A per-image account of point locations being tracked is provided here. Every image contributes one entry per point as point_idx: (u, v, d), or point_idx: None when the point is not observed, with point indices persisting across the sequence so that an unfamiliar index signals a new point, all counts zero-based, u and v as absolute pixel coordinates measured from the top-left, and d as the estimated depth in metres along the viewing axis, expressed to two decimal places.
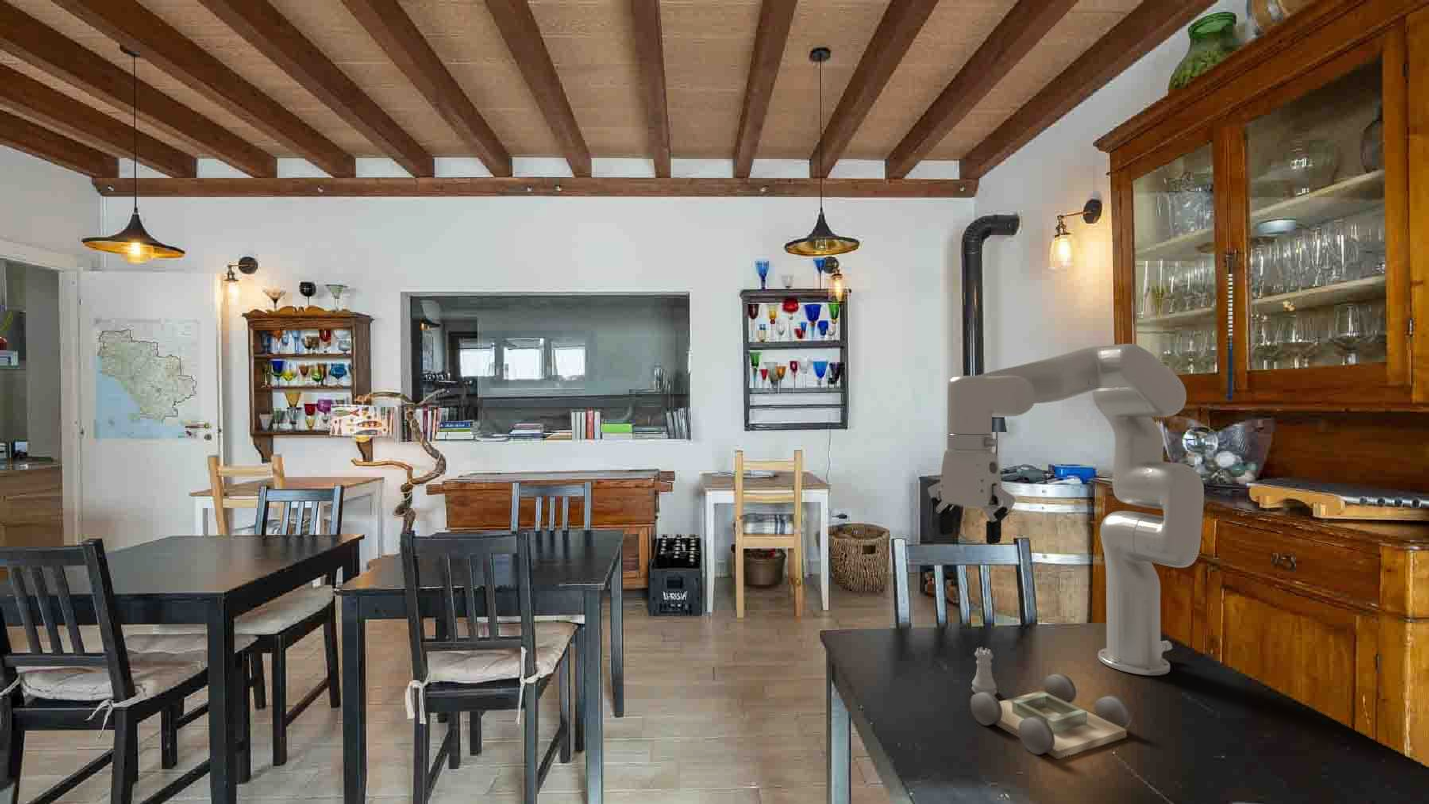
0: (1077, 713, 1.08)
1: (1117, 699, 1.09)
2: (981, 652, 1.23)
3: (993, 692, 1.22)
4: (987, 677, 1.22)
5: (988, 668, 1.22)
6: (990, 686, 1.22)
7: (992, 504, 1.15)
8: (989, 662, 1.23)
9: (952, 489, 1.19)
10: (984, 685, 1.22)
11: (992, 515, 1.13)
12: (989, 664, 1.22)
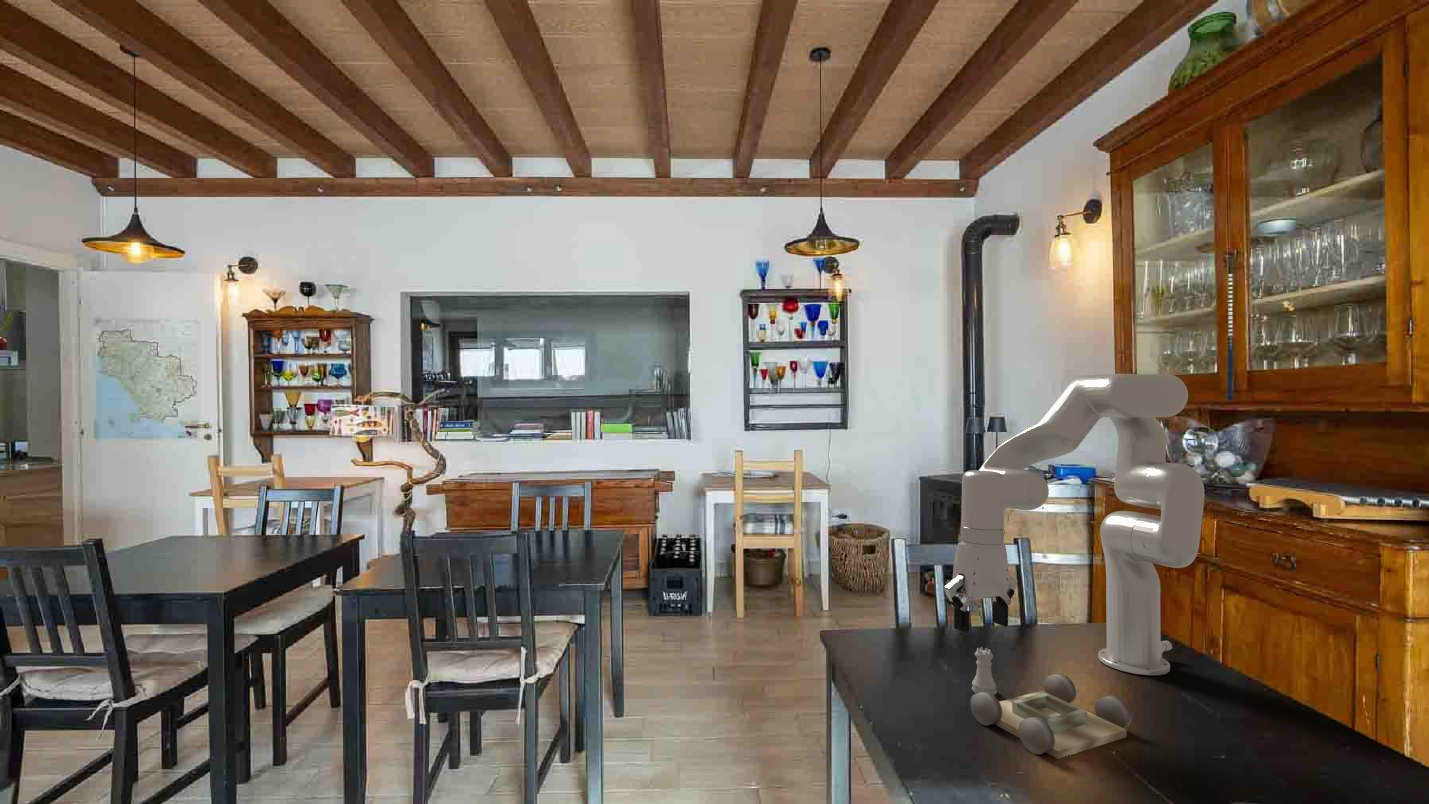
0: (1077, 713, 1.08)
1: (1117, 699, 1.09)
2: (981, 652, 1.23)
3: (993, 692, 1.22)
4: (987, 677, 1.22)
5: (988, 668, 1.22)
6: (990, 686, 1.22)
7: None
8: (989, 662, 1.23)
9: (984, 584, 1.21)
10: (984, 685, 1.22)
11: (1008, 599, 1.25)
12: (989, 664, 1.22)
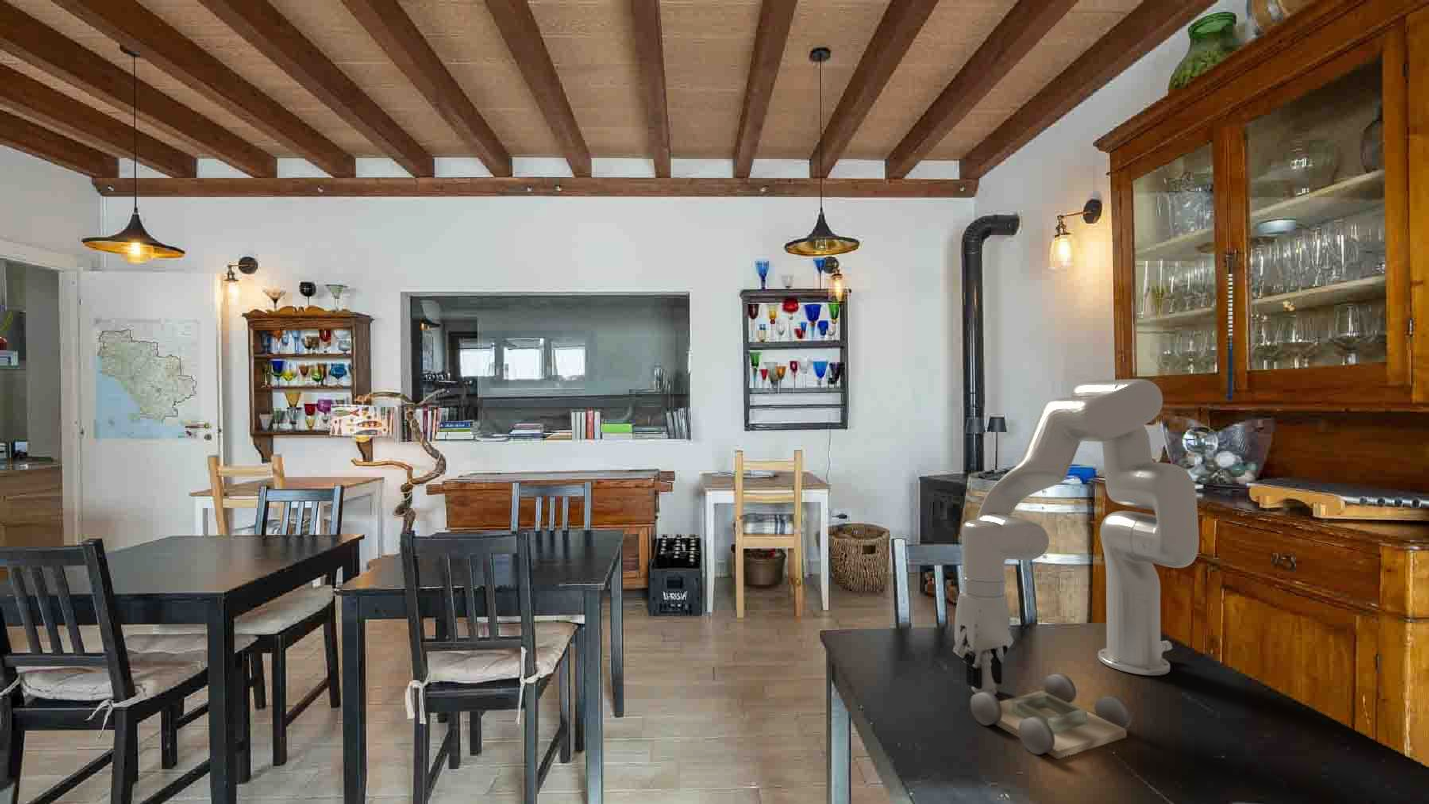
0: (1077, 713, 1.08)
1: (1117, 699, 1.09)
2: (981, 652, 1.23)
3: (993, 692, 1.22)
4: (987, 677, 1.22)
5: (988, 668, 1.22)
6: (990, 686, 1.22)
7: None
8: (989, 662, 1.23)
9: (986, 636, 1.21)
10: (984, 685, 1.22)
11: (1002, 656, 1.24)
12: (989, 664, 1.22)
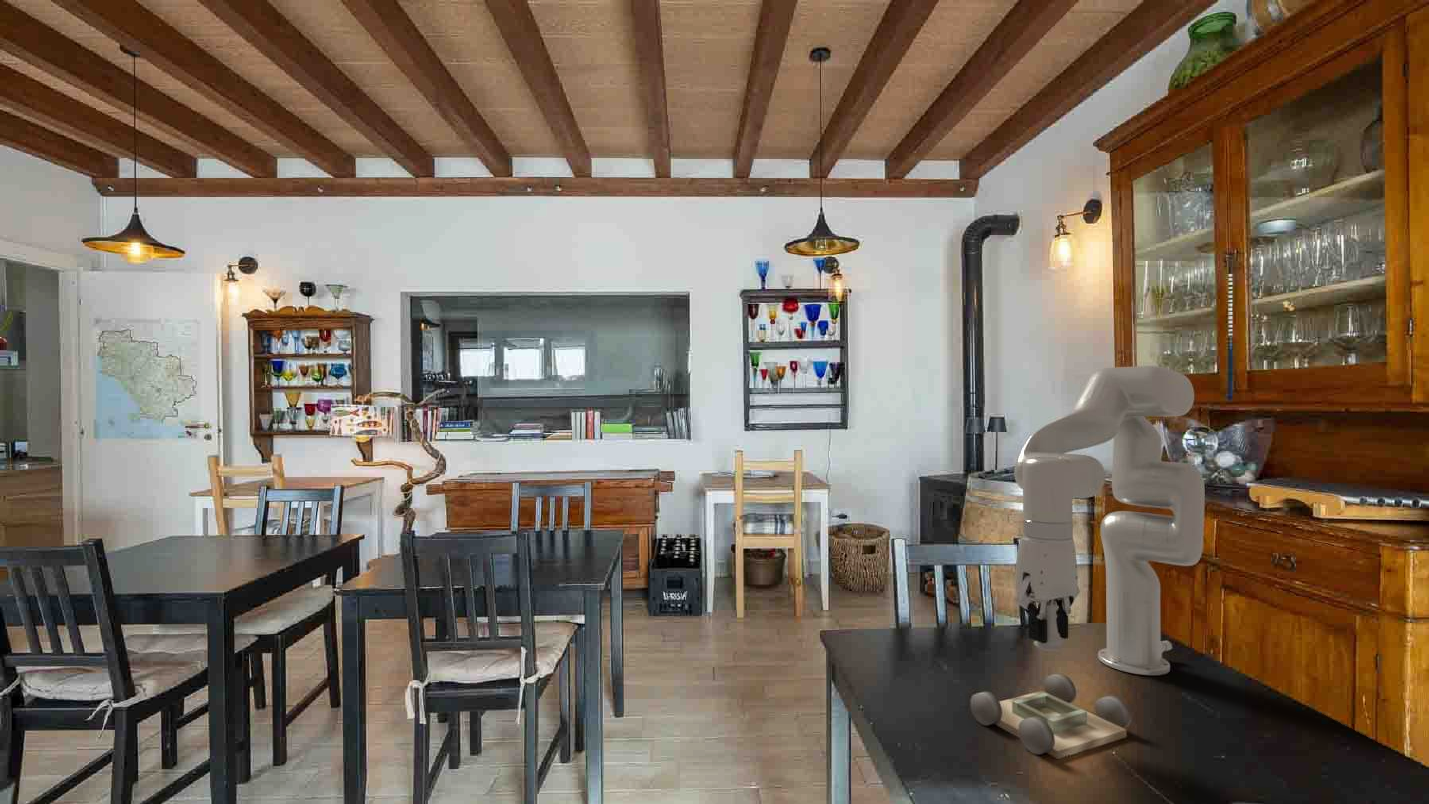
0: (1077, 713, 1.08)
1: (1117, 699, 1.09)
2: (1046, 603, 1.10)
3: (1059, 647, 1.09)
4: (1052, 630, 1.10)
5: (1053, 620, 1.10)
6: (1056, 640, 1.09)
7: None
8: (1054, 614, 1.10)
9: (1052, 583, 1.08)
10: (1050, 639, 1.09)
11: (1068, 608, 1.11)
12: (1055, 616, 1.10)
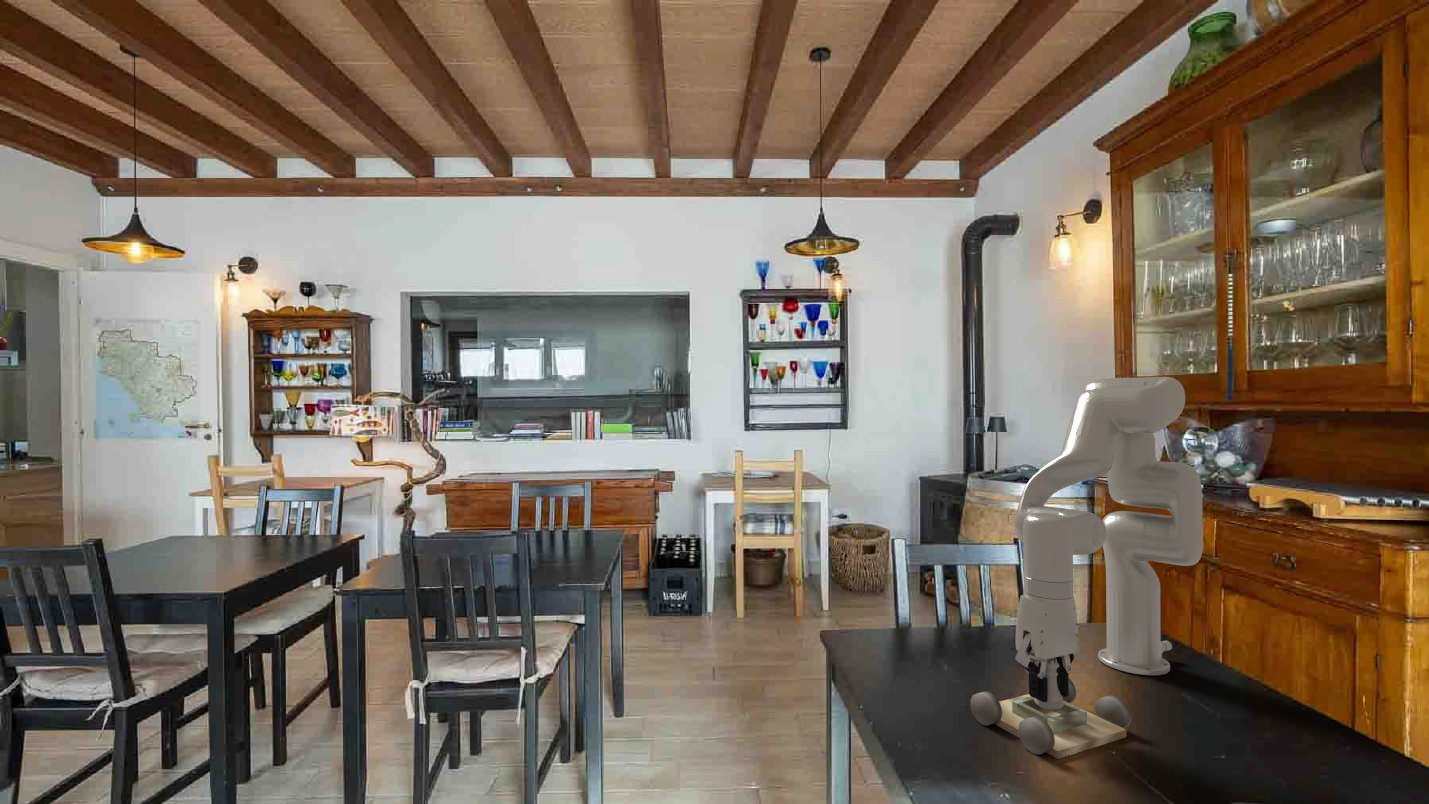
0: (1077, 713, 1.08)
1: (1117, 699, 1.09)
2: None
3: (1060, 705, 1.09)
4: (1053, 689, 1.09)
5: (1054, 678, 1.10)
6: (1057, 698, 1.09)
7: None
8: (1055, 672, 1.10)
9: (1052, 642, 1.08)
10: (1050, 698, 1.09)
11: (1069, 665, 1.11)
12: (1055, 674, 1.10)
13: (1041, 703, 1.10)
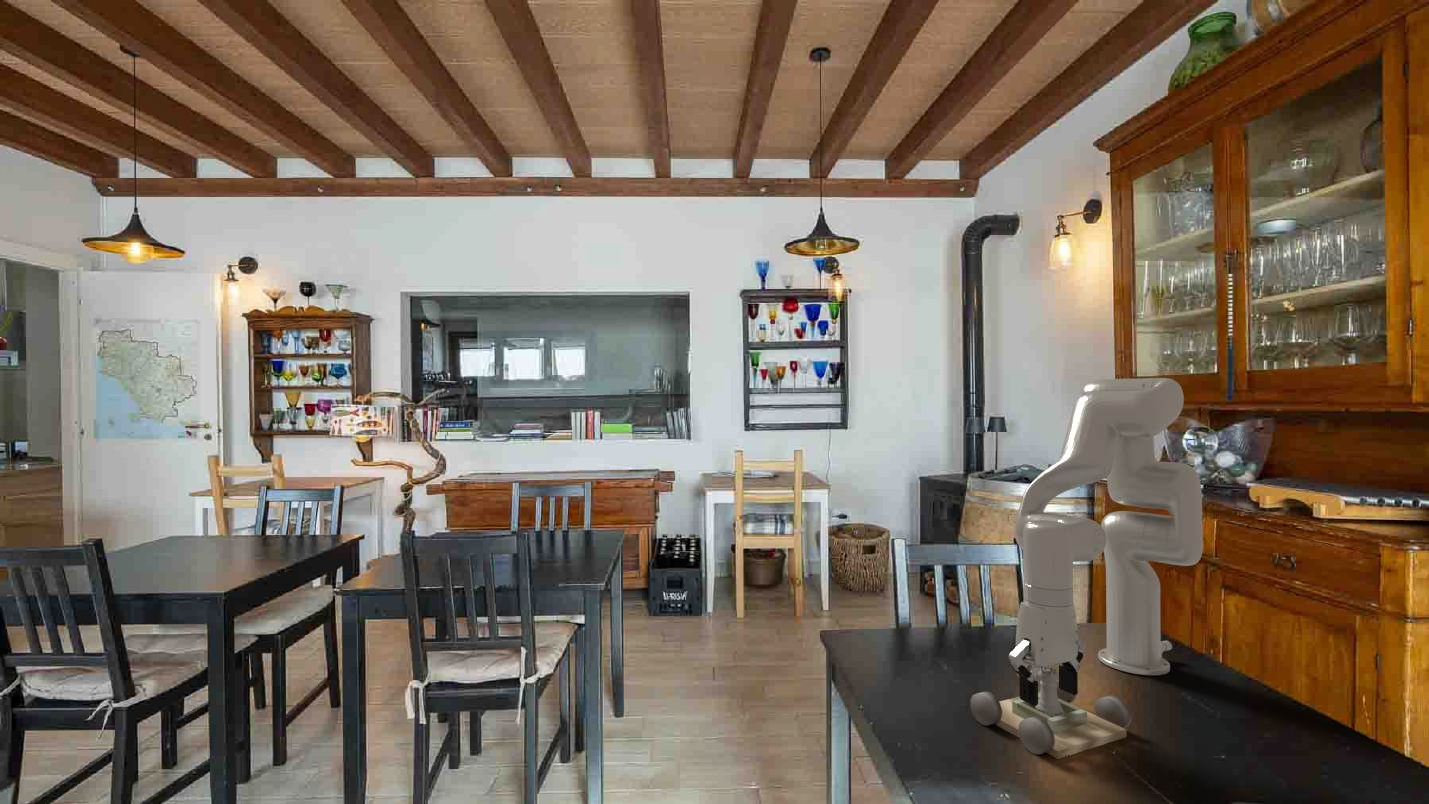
0: (1077, 713, 1.08)
1: (1117, 699, 1.09)
2: (1046, 672, 1.10)
3: None
4: (1053, 700, 1.10)
5: (1054, 690, 1.10)
6: (1057, 710, 1.09)
7: None
8: (1055, 683, 1.10)
9: (1052, 650, 1.08)
10: (1051, 709, 1.09)
11: (1077, 664, 1.12)
12: (1055, 685, 1.10)
13: None
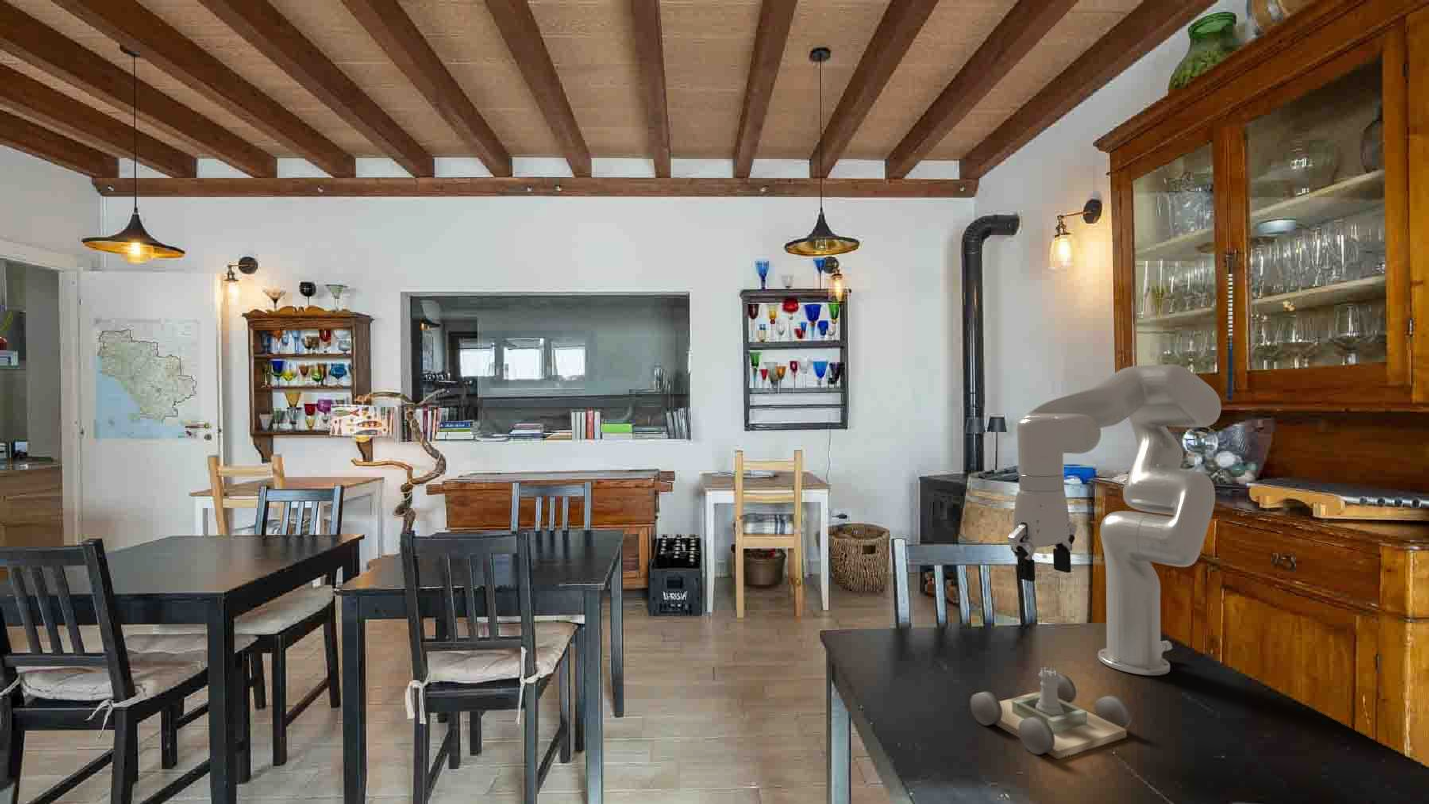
0: (1077, 713, 1.08)
1: (1117, 699, 1.09)
2: (1047, 673, 1.10)
3: None
4: (1054, 701, 1.10)
5: (1055, 691, 1.10)
6: (1058, 711, 1.09)
7: None
8: (1056, 684, 1.10)
9: (1047, 531, 1.19)
10: (1051, 710, 1.09)
11: (1069, 545, 1.23)
12: (1056, 686, 1.10)
13: None
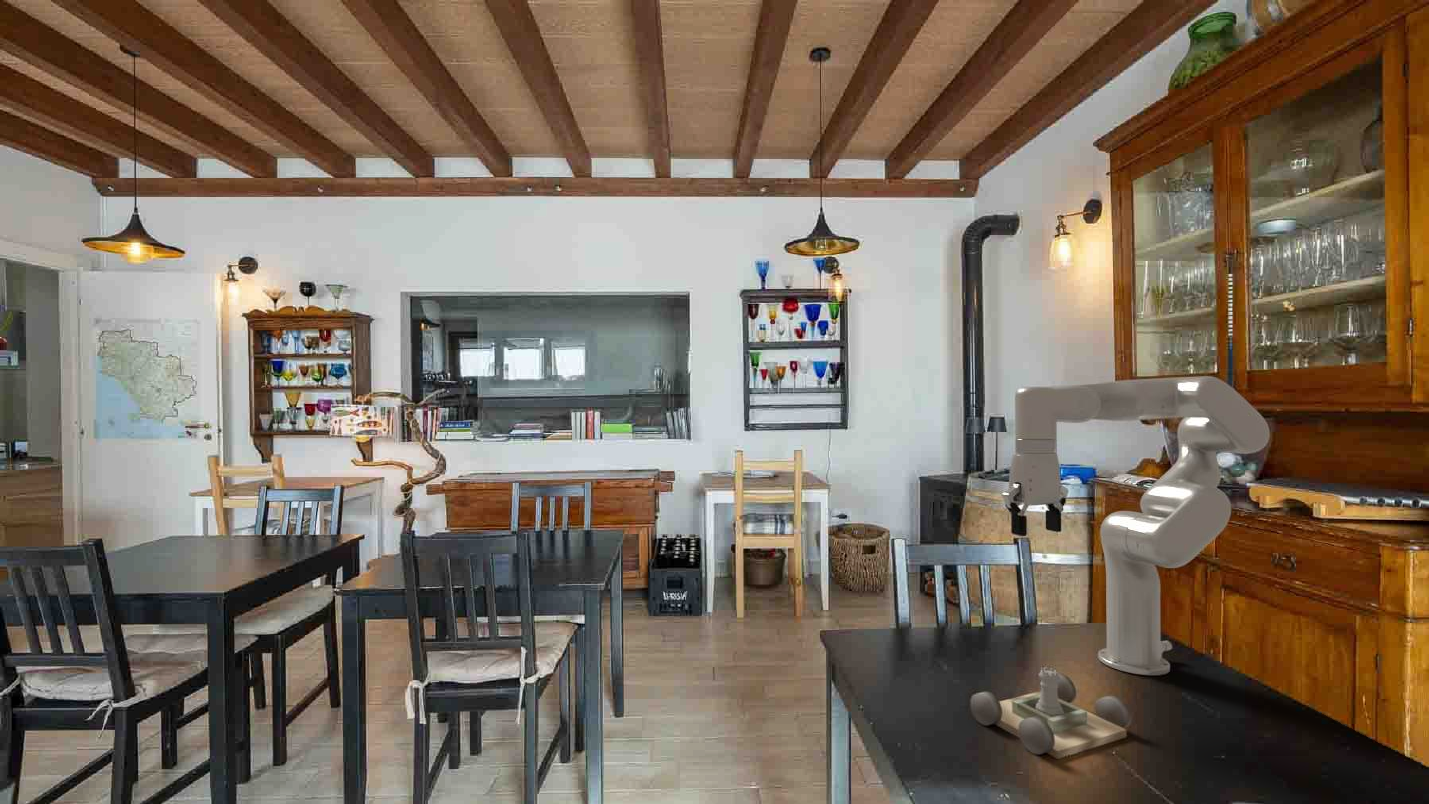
0: (1077, 713, 1.08)
1: (1117, 699, 1.09)
2: (1047, 673, 1.10)
3: None
4: (1054, 701, 1.10)
5: (1055, 691, 1.10)
6: (1058, 711, 1.09)
7: None
8: (1056, 684, 1.10)
9: (1039, 490, 1.29)
10: (1051, 710, 1.09)
11: (1061, 506, 1.33)
12: (1056, 686, 1.10)
13: None
